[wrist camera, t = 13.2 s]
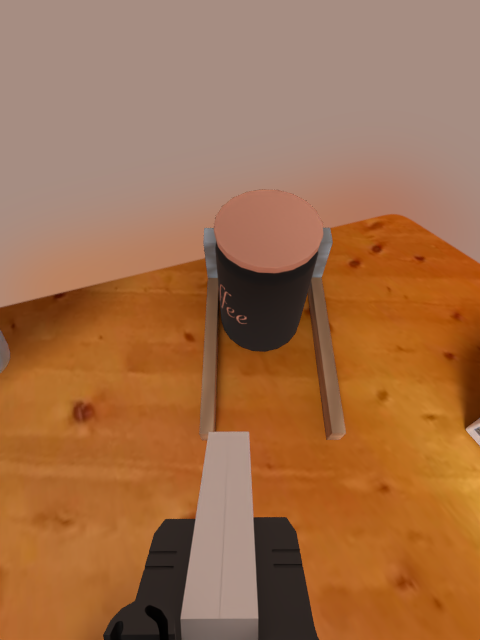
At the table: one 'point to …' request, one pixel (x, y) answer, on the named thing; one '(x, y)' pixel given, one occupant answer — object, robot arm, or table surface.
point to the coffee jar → (265, 265)
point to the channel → (320, 335)
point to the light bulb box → (474, 430)
